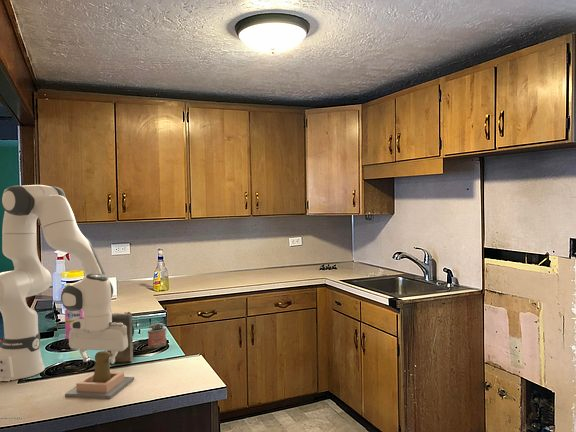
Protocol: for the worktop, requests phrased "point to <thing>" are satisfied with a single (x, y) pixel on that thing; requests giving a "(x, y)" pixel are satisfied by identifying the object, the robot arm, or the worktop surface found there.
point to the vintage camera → (128, 352)
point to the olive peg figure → (102, 367)
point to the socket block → (100, 386)
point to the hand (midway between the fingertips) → (99, 362)
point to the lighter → (157, 336)
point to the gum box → (71, 319)
